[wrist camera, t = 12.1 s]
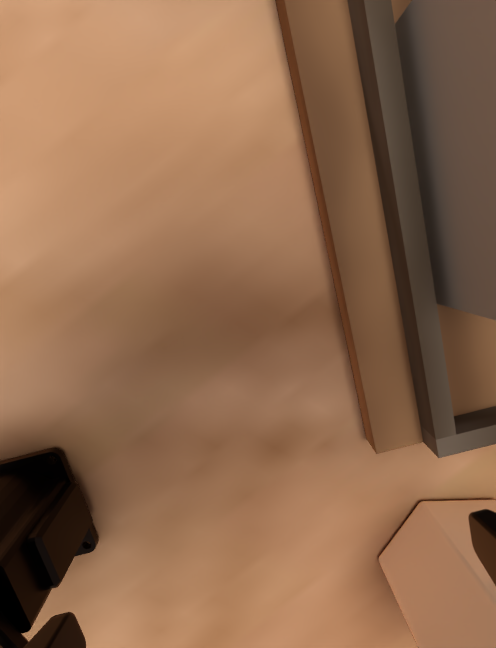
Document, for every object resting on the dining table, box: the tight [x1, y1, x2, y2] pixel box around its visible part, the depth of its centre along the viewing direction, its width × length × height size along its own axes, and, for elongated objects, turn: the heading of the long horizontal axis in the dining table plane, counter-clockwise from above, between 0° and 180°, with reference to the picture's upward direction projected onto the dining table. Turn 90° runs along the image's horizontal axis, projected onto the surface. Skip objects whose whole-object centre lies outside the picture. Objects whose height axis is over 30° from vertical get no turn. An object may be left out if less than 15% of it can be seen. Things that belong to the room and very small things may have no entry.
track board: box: [275, 0, 496, 458], centre depth 17 cm, size 11×26×3 cm, turn 15°
